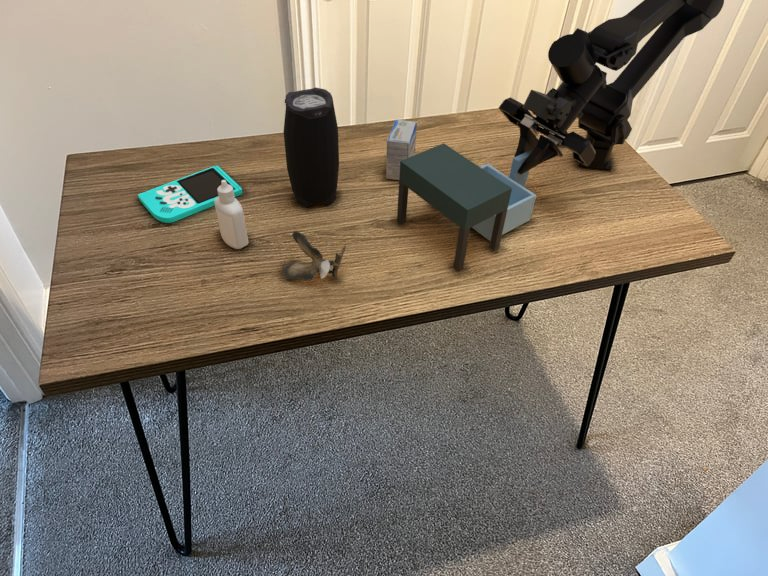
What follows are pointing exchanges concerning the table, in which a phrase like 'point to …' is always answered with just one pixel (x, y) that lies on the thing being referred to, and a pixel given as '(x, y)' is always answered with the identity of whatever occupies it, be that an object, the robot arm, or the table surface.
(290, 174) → the portable speaker
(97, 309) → the table surface
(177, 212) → the handheld game console
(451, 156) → the cabinet
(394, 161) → the medicine box
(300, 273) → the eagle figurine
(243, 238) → the eye dropper bottle
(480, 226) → the drawer
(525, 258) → the table surface
